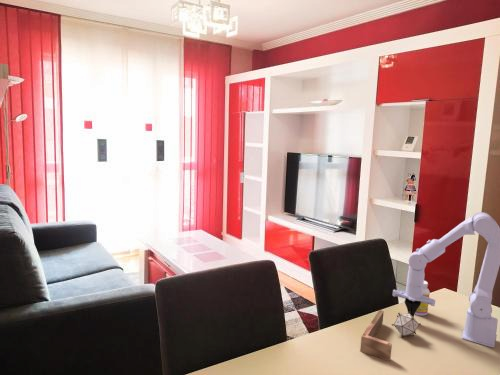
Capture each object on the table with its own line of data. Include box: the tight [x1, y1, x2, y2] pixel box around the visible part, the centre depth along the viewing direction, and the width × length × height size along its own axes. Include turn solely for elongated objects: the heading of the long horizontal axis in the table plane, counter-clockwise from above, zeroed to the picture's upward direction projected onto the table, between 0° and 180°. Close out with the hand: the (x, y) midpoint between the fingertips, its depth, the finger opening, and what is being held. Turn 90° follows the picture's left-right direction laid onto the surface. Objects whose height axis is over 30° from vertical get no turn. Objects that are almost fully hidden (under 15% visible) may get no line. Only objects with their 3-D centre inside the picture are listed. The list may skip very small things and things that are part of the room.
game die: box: [391, 311, 422, 339], centre depth 130 cm, size 9×8×10 cm
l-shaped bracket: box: [359, 309, 393, 362], centre depth 127 cm, size 9×24×5 cm, turn 148°
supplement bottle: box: [414, 280, 431, 317], centre depth 148 cm, size 7×7×13 cm
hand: (411, 318), depth 141 cm, fingers closed
